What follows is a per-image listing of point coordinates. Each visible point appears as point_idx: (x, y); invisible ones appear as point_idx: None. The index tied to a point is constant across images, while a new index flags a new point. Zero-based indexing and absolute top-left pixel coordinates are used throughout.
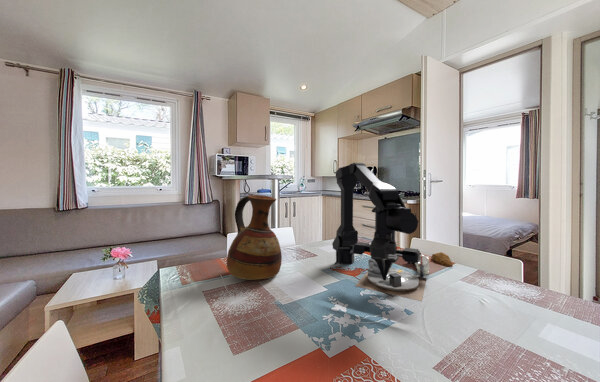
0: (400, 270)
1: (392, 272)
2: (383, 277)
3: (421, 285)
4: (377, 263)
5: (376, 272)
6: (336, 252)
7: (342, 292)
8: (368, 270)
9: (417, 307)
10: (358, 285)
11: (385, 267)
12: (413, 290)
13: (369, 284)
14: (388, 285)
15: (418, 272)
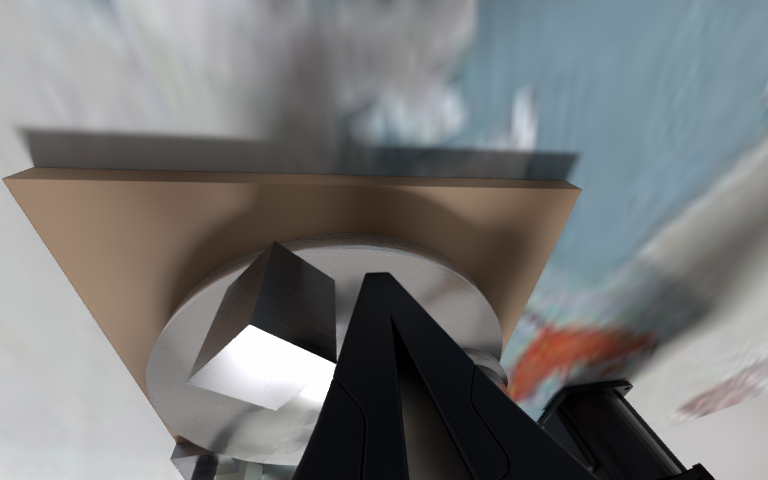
0: None
1: None
2: (390, 288)
3: None
4: (586, 476)
5: None
6: (670, 451)
7: (669, 77)
8: (502, 381)
9: (28, 92)
10: (554, 210)
11: (389, 431)
12: None
13: (476, 260)
14: (335, 255)
15: (250, 477)
